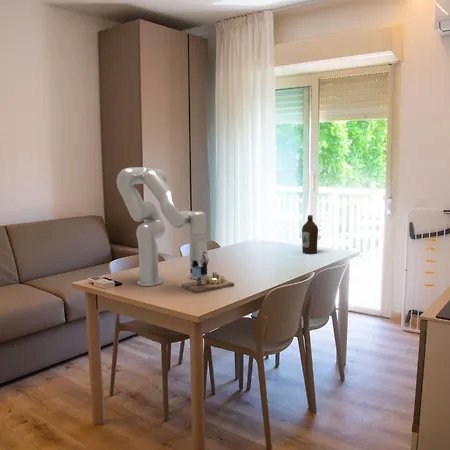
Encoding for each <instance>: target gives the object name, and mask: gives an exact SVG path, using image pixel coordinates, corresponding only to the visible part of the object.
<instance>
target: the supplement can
mask: <svg viewBox="0 0 450 450" xmlns="http://www.w3.org/2000/svg"><path fill="white" fill-rule="evenodd" d="M203 263H204V262H203ZM198 266H201V263H200V262H198ZM189 270H190V272H189V273H190V274H189V275H190V276H189V277H190V278H191V279H192V280H197V277H192V260H191V258H190V257H189ZM205 278H206V277H202V278H201V280H205Z"/></svg>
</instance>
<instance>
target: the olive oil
mask: <svg viewBox="0 0 450 450" xmlns="http://www.w3.org/2000/svg"><path fill="white" fill-rule="evenodd" d="M313 219H314V217H313V214H308V215H307V221H306V222H305V223H304V224H303V226H302V228H301V240H302V241H301V246H302V247H301V248H302V250H301V251H302V254H304V253H305V254H306V255H315V254H317V253H318V238H319V228H318V225H317V224H316V223H315V222H314V220H313Z"/></svg>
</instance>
